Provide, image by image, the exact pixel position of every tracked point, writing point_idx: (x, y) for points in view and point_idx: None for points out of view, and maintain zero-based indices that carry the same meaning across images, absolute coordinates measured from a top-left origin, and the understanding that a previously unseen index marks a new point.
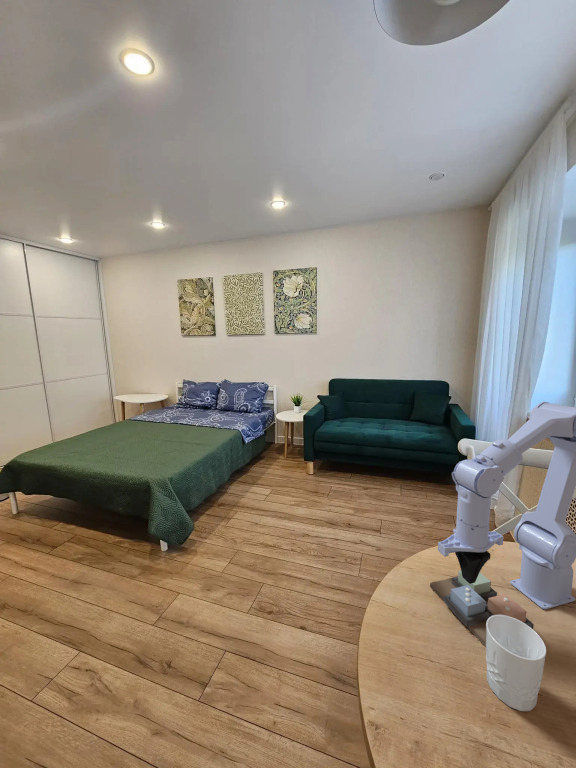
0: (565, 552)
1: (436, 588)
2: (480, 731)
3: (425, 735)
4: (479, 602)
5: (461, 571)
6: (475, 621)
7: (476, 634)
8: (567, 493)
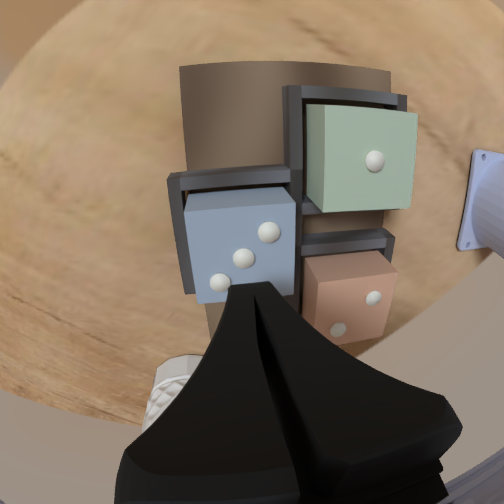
0: None
1: (187, 100)
2: (103, 403)
3: (30, 387)
4: None
5: (226, 303)
6: None
7: None
8: None
